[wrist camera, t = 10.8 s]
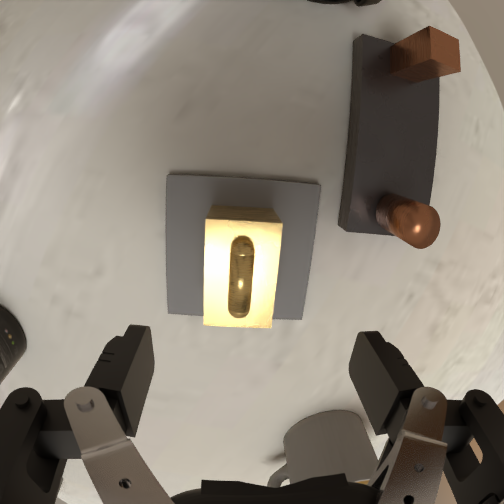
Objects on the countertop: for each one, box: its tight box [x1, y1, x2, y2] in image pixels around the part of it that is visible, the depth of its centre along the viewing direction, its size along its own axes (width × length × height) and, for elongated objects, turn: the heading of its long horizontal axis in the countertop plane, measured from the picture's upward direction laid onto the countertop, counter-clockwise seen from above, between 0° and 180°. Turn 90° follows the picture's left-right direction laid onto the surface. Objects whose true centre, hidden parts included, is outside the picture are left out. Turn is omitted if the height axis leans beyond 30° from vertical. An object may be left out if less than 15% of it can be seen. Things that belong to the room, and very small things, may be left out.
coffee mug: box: [267, 410, 378, 488], centre depth 27 cm, size 13×10×10 cm
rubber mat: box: [166, 174, 321, 320], centre depth 23 cm, size 11×11×1 cm
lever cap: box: [204, 205, 283, 328], centre depth 20 cm, size 7×4×6 cm, turn 176°
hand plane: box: [338, 26, 461, 249], centre depth 18 cm, size 15×7×8 cm, turn 176°
